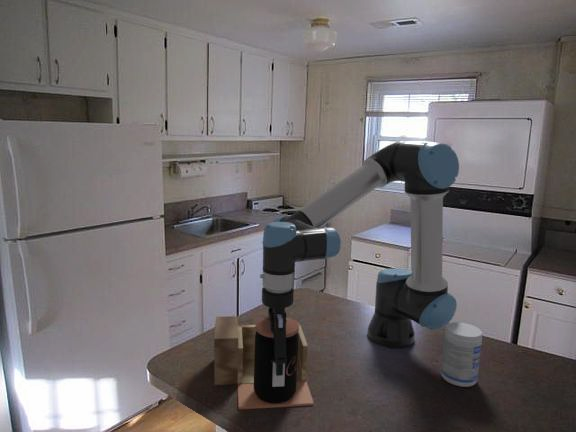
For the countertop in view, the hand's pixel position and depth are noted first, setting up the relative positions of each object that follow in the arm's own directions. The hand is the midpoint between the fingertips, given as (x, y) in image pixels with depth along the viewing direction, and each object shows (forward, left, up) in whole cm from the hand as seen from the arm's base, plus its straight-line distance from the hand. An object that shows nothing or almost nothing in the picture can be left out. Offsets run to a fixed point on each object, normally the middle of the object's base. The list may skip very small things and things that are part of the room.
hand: (275, 370), depth 105 cm
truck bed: (+3, -12, -8) cm, 15 cm away
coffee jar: (0, 0, -6) cm, 6 cm away
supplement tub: (-52, -5, -8) cm, 53 cm away
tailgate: (0, -5, -7) cm, 8 cm away
